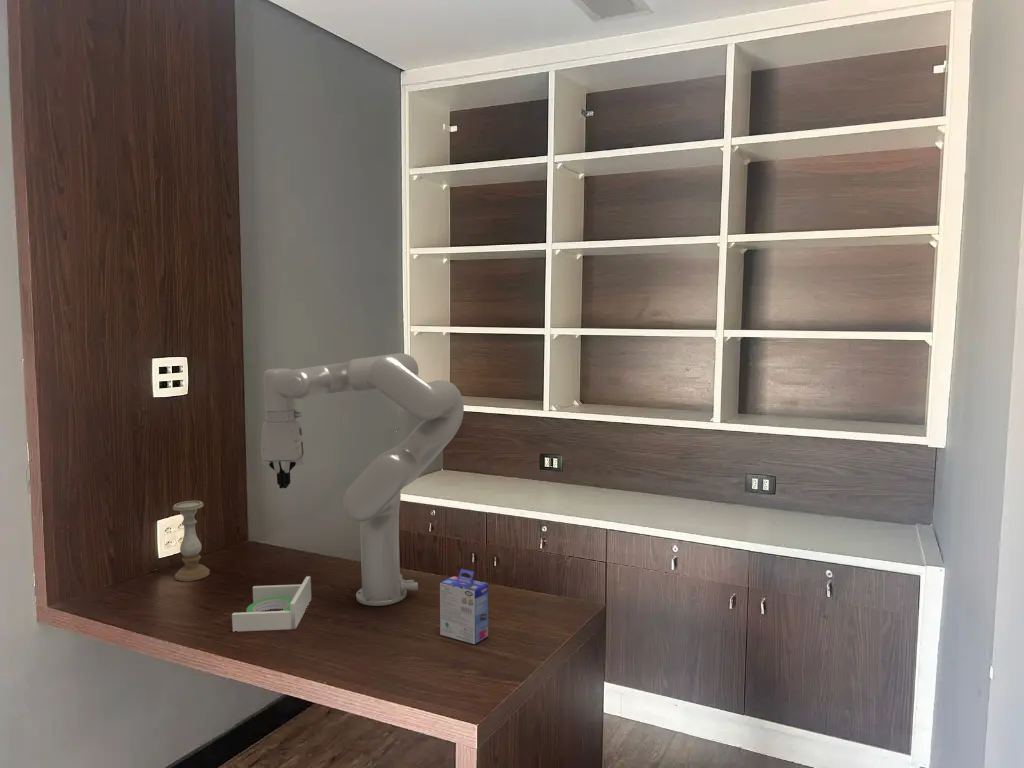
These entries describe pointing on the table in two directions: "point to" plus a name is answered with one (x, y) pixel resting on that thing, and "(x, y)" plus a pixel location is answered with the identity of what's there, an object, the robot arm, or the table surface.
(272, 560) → the table surface
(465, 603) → the ink cartridge box
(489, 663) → the table surface
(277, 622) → the box
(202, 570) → the candle holder
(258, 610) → the tape roll
